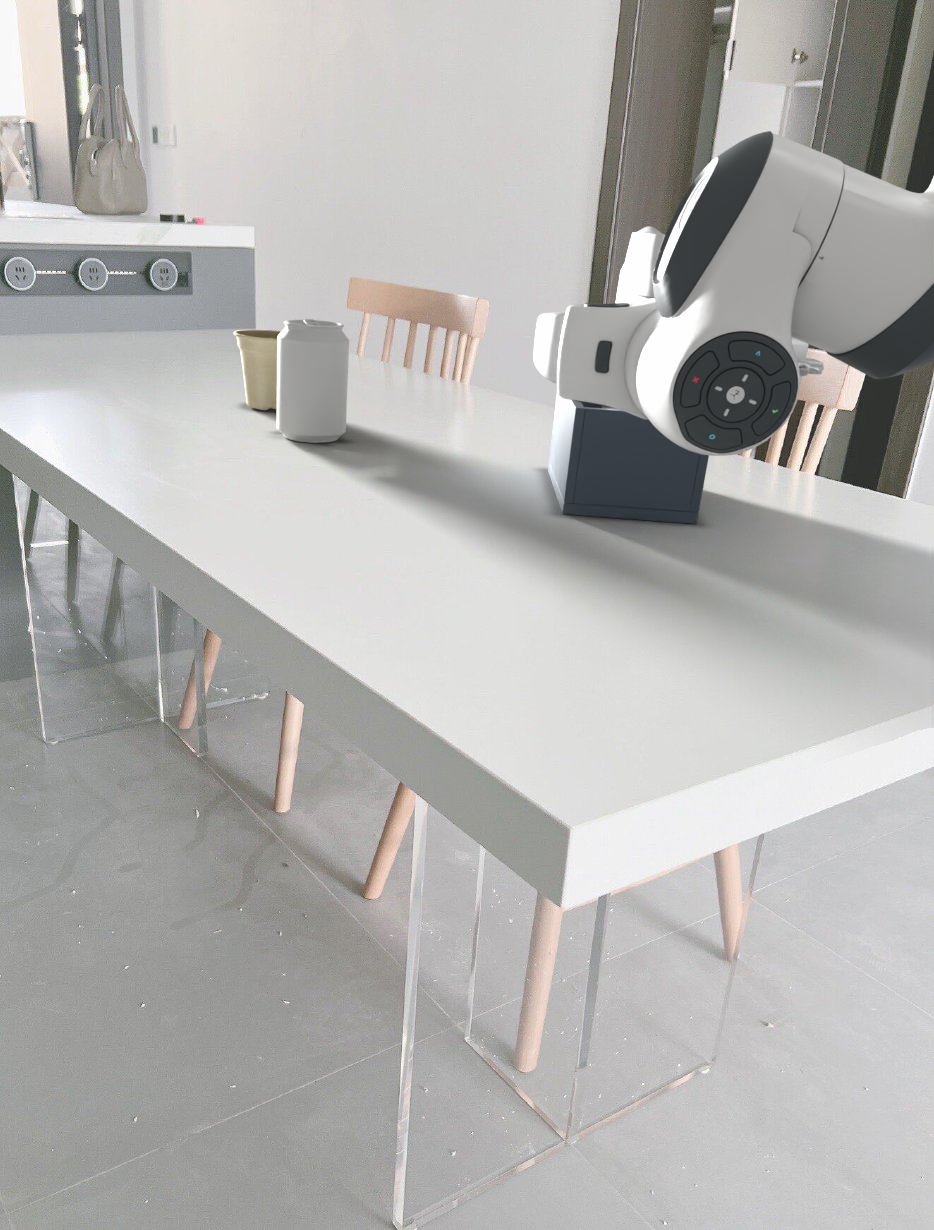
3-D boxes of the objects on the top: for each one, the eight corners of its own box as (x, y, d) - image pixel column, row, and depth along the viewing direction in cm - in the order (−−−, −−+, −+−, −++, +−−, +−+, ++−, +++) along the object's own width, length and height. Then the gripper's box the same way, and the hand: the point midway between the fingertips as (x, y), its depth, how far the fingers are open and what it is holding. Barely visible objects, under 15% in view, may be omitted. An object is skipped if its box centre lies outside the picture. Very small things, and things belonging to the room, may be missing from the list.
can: (289, 445, 111) (291, 324, 106) (267, 431, 117) (268, 316, 112) (355, 443, 114) (360, 325, 109) (331, 429, 120) (334, 317, 115)
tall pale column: (578, 469, 104) (609, 223, 95) (618, 470, 105) (653, 226, 95) (607, 495, 95) (645, 225, 85) (651, 497, 95) (694, 228, 86)
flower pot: (321, 406, 134) (323, 334, 131) (295, 417, 126) (296, 340, 122) (251, 398, 136) (252, 327, 133) (221, 408, 128) (221, 333, 124)
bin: (662, 478, 107) (677, 386, 104) (696, 524, 91) (715, 417, 88) (547, 470, 108) (558, 378, 104) (562, 514, 92) (575, 407, 88)
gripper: (842, 324, 73) (787, 308, 86) (546, 303, 74) (535, 291, 86) (821, 417, 76) (771, 388, 89) (536, 396, 76) (526, 371, 89)
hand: (652, 340), depth 87 cm, fingers open, 8 cm apart
